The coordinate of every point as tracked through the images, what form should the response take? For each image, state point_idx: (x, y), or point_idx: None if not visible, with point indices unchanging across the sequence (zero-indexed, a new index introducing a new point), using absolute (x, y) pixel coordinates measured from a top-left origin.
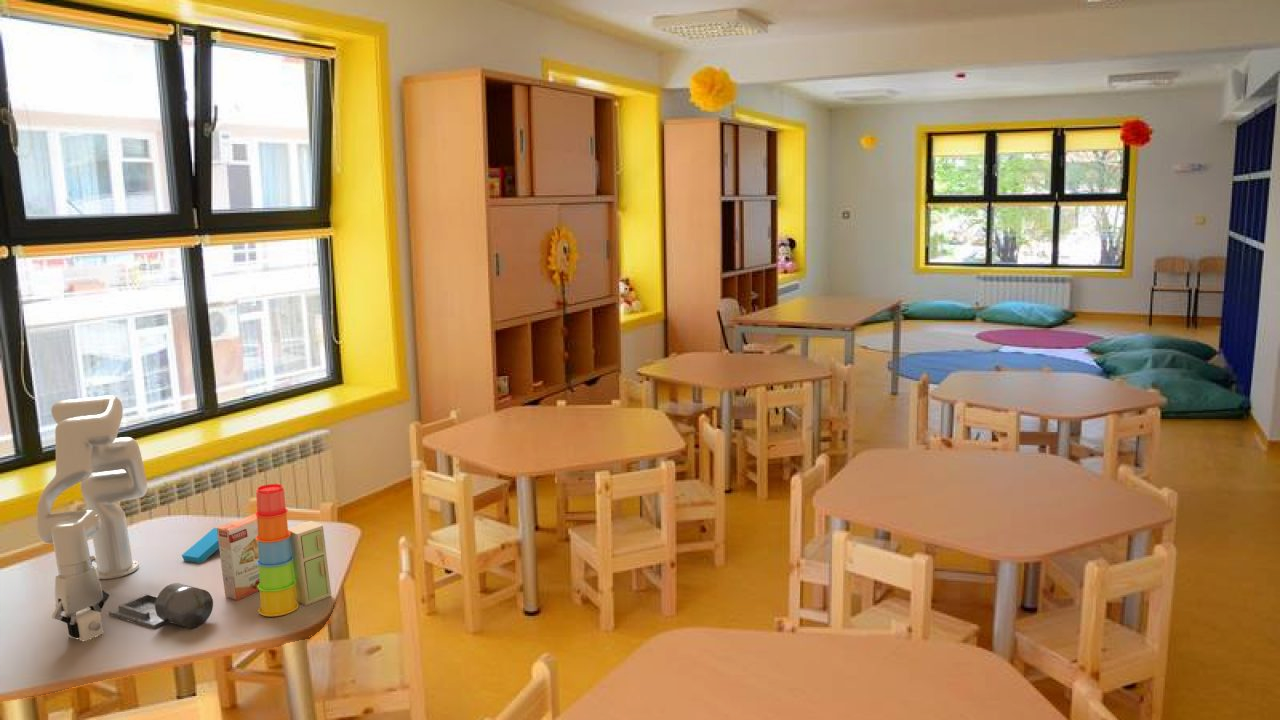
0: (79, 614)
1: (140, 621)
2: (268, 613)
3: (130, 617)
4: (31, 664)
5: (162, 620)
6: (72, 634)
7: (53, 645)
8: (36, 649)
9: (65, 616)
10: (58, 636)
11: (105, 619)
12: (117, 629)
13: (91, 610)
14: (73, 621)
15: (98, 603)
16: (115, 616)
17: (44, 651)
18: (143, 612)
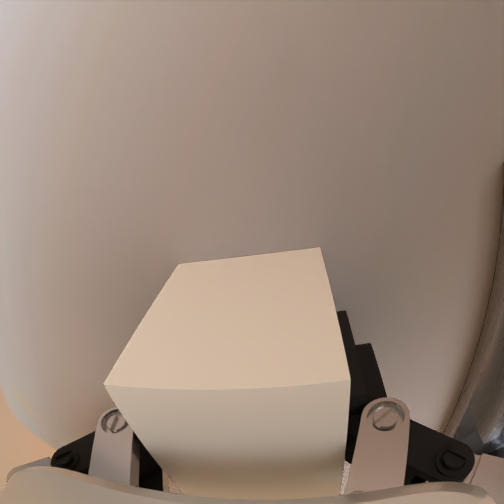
0: (220, 465)
1: (455, 428)
2: None
3: (485, 372)
4: (28, 370)
5: None
6: None
7: (88, 297)
8: (26, 263)
9: (96, 458)
10: (129, 191)
11: (462, 208)
12: (389, 395)
13: (333, 471)
14: (156, 468)
15: (423, 482)
16: (502, 238)
17: (54, 319)
18: (495, 429)
